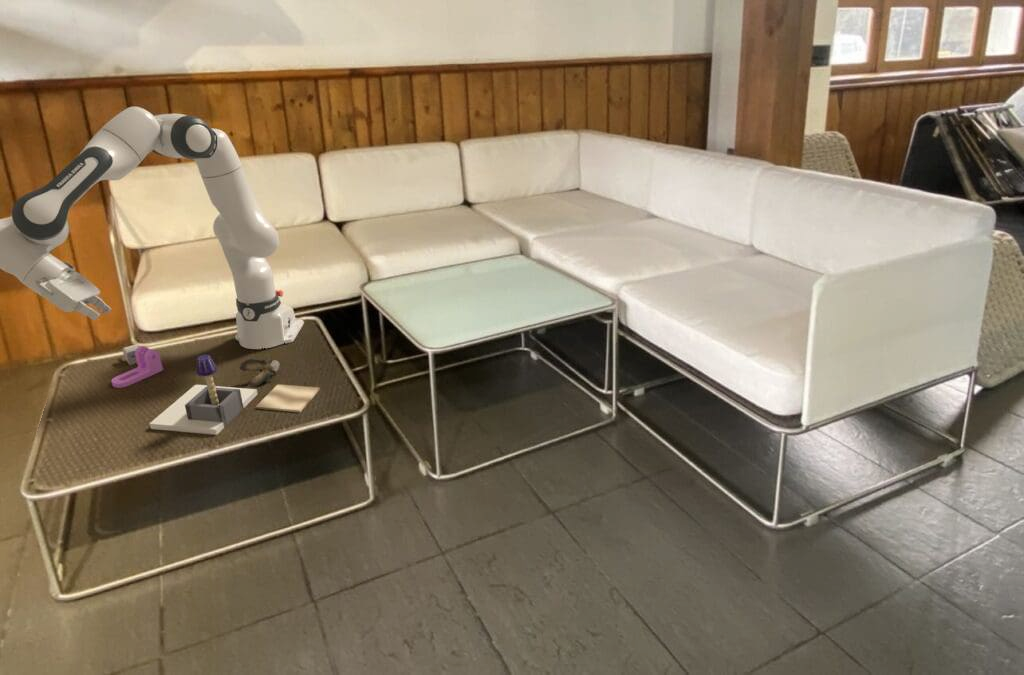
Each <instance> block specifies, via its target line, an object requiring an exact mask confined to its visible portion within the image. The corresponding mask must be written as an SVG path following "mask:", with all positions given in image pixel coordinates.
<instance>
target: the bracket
mask: <svg viewBox="0 0 1024 675" xmlns="http://www.w3.org/2000/svg"><path fill="white" fill-rule="evenodd" d="M135 356H136V360H137V363H136V364H137V367H135V368H132V369H131V370H128V371H126V372H124V373H121V374H119V375H117V376H114V377H113V378H112V379H111V385H112V387H114V388H117V389H118V388H126V387H129V386H131V385H134V384H135V383H139V382H140V381H143V380H145V379H146V378H150V377H151V376H153V375H156V374H159V373H160V372H162V370H163V371H164V368H163V364H162V359H161V356H160V352H159V351H157V350H155V349H150V348H149V347H146V346H145V345H140V346H138V348H137V349H136V351H135ZM142 379H143V380H142Z"/></svg>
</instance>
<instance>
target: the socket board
mask: <svg viewBox="0 0 1024 675" xmlns="http://www.w3.org/2000/svg"><path fill="white" fill-rule="evenodd" d="M214 388H215V389H216V394H217V399H218V400H219V403H218V404H219V405H212V404H211V399H210V394H209V392H208V388H207V384H204V385H203V384H194V385H193V386H192V387H191V388H189V390H188V391H186V392H185V393H184V394H182V396H180V397H179V398H177V400H175V401H174V403H172V404H171V405H169V406H168V407H167V408H166V409H165V410H164V411H163V412H161V413H160V414H158V416H156V417H155V418H154V419H153V420H152V421H151V422H149V427H150V429H152V430H161V431H169V432H170V431H171V432H181V433H192V434H193V433H194V434H203V435H212V436H213V435H214V436H218V434H220V433H221V431H223V430H224V429H225V428H226V427H227V426H228V425H229V423H231V422H232V420H234V419H235V418H236V417H237V415H238V414H240V413H241V412H242V411H243V409H244V408H246V406H248V405H249V404H250V403H251V401H253V399H255V397H256V396H258V390H257V389H255V388H245V387H233V386H232V387H231V386H219V385H218V386H217V385H215V387H214Z"/></svg>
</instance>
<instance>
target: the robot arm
mask: <svg viewBox="0 0 1024 675" xmlns="http://www.w3.org/2000/svg"><path fill="white" fill-rule="evenodd" d="M151 152H153V153H155V154H157V155H160V156H166V157H169V158H173V159H189V160H193V161H194V163H195V164H196V167H197V169H198V172H199V174H200V177H201V180H202V182H203V185H204V187H205V190H206V192H207V195H208V196H209V197H208V198H209V200H210V201H211V204H212V205H213V206H214V208H215V209H216V211H217V212H218V213H219V214H218V215H217V216H216V217H215V219H214V221H213V225H212V227H213V228H212V230H213V233H214V237H216V239H217V240H218V243H219V244H220V247H221V249H222V251H223V254H224V257H225V259H226V261H227V264H228V268H230V272H231V275H232V278H233V284H234V289H235V293H236V298H235V301H236V302H235V305H236V307H237V308H236V309H237V313H236V314H235V319H236V329H237V331H236V332H237V334H235V335H234V339H235V340H236V341H238V342H239V345H240V346H241V347H243V348H244V349H248V350H249V349H250V350H264V348H265V349H269V348H274V347H277V346H280V345H284V343H285V344H290V343H292V342H294V340H295V339H296V337H297V336H298V334H299V332H300V330H302V327H303V326H304V324H305V321H304V320H303V319H301V318H297V317H296V315H295V311H294V308H292V307H291V306H289V305H287V304H285V303H283V302H282V301H281V300H280V298H281V297H283V296H284V291H283V290H282V289H279V290H278V289H276V287H275V281H274V275H273V269H272V267H271V265H270V264H269V262H268V261H267V258H268V257H269V258H270V257H271V256H272V255H273V254H274V253H275V252H276V251H277V250H278V248H279V245H280V237H279V236H280V235H279V233H278V231H277V229H276V228H275V227H274V226H273V225H272V224H271V222H270V221H269V219H268V217H267V215H266V214H265V212H264V210H263V209H262V206H261V205H260V204H259V202H258V200H257V198H256V197H255V195H254V192H253V191H252V188H251V186H250V184H249V181H248V178H247V176H246V173H245V170H244V168H243V165H242V162H241V160H240V157H239V155H238V153H237V150H236V148H235V146H234V145H233V143H232V141H231V139H230V138H229V136H228V135H227V133H226V131H223V130H222V129H218V128H213V127H212V128H211V126H210V125H209V124H208V123H207V122H206V121H204V119H202V118H199V117H197V116H194V115H189V114H188V115H187V114H182V113H175V112H174V113H156V114H153V113H151V112H150V111H148V110H146V109H145V108H143V107H140V106H130V107H127V108H125V109H124V110H122V111H121V112H119V113H117V114H116V115H115V116H114V117H112V118H111V119H110V120H109V121H107V122H106V123H105V124H104V125H103V126H102V127H101V128H100V129H99V130H98V131H97V132H96V133H95V134H94V135H93V137H91V139H90V140H89V141H88V142H87V144H86V145H85V147H84V148H83V149H82V150H81V152H80V153H79V154H78V155H77V156H76V158H75V159H73V160H72V161H71V162H69V164H67V165H66V166H65V167H64V168H63V169H62V170H61V171H60V172H59V173H58V174H56V176H55V177H54V178H52V179H51V181H50V182H48V183H47V184H45V185H44V186H43V187H40V188H38V189H36V190H35V189H34V190H33V191H30V192H28V193H25V194H23V195H21V196H20V197H19V198H18V199H17V200H16V201H15V202H14V204H13V206H12V209H11V216H7V217H3V218H0V270H2V271H4V272H5V273H8V274H10V275H13V276H14V277H15V278H17V279H18V280H19V281H20V283H21V284H22V285H24V286H26V287H27V288H29V289H30V290H32V291H33V292H34V293H35V294H37V295H39V296H40V297H43V298H45V299H46V300H47V301H48V302H50V303H51V304H53V305H54V306H55V307H56V308H58V309H59V310H61V311H62V312H65V313H67V314H68V313H70V312H73V311H75V312H76V313H78V314H81V315H84V316H85V317H88V318H89V319H91V320H93V321H96V320H97V319H98V318H99V317H100V316H101V313H102V314H103V315H107V314H109V313H110V311H111V310H112V308H111V306H109V305H108V304H106V302H104V300H103V299H102V298H100V297H99V295H100V294H101V291H100V289H99V288H98V287H97V286H96V285H95V284H94V283H92V282H91V281H90V280H88V279H87V278H86V277H85V276H84V275H83V274H80V273H79V272H77V271H75V270H76V268H75V266H73V265H72V264H70V263H69V262H68V263H67V262H63V261H62V260H61V259H60V258H57V257H56V256H54V255H52V254H51V253H50V252H52V251H53V250H55V249H56V248H58V247H59V246H60V245H62V244H63V243H64V242H65V241H66V240H67V238H68V236H69V234H70V226H69V221H68V216H69V213H70V210H71V208H72V207H73V206H74V205H75V204H76V203H77V202H78V201H79V200H80V198H82V197H83V196H84V195H85V194H86V193H87V192H88V191H89V190H90V189H91V188H92V187H93V186H94V185H96V184H97V183H99V182H101V181H103V180H104V181H106V180H107V181H119V180H122V179H123V178H124V177H126V176H127V175H129V174H130V173H132V172H133V171H134V169H136V168H138V166H139V165H140V164H141V163H142V161H143V160H145V158H146V157H147V155H148V154H150V153H151ZM89 304H90V305H92V306H94V307H95V308H96V309H98V311H97V310H96V309H94V308H91V307H90V306H88V305H89ZM262 348H263V349H262Z"/></svg>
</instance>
